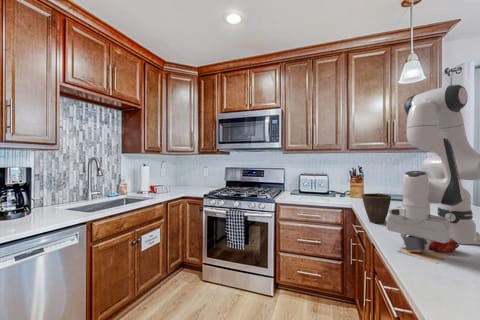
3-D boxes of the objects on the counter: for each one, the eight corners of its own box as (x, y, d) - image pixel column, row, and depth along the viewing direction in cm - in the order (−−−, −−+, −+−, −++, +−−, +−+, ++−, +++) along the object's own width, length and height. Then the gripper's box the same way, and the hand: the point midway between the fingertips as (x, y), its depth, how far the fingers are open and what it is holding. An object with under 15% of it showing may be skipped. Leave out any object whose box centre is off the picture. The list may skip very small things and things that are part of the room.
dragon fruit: (418, 252, 98) (455, 261, 93) (426, 246, 91) (466, 256, 86) (418, 233, 102) (453, 240, 97) (425, 226, 95) (463, 233, 90)
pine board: (409, 248, 100) (409, 244, 100) (449, 259, 89) (449, 255, 89) (396, 255, 93) (396, 251, 93) (438, 267, 82) (438, 263, 82)
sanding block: (414, 247, 96) (411, 235, 97) (427, 248, 93) (423, 235, 94) (407, 251, 92) (403, 238, 93) (420, 252, 88) (416, 238, 89)
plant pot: (371, 226, 132) (370, 197, 132) (357, 219, 147) (357, 193, 147) (397, 225, 133) (397, 197, 132) (381, 218, 148) (380, 193, 147)
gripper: (452, 216, 86) (453, 254, 86) (391, 207, 103) (391, 238, 103) (447, 219, 82) (447, 258, 82) (384, 209, 99) (384, 241, 99)
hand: (416, 247), depth 93 cm, fingers closed on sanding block, 5 cm apart
